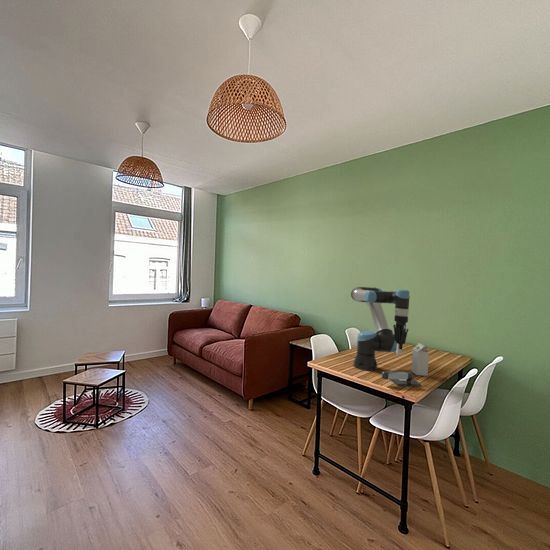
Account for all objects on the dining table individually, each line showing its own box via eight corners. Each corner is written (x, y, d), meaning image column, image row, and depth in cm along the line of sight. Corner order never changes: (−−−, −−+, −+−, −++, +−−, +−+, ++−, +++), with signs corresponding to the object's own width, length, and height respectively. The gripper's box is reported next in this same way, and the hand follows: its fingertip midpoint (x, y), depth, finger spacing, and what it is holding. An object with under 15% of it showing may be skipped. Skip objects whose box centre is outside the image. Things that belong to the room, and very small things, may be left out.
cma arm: (383, 379, 161) (384, 373, 161) (380, 376, 165) (380, 371, 165) (414, 379, 163) (414, 374, 163) (410, 377, 167) (410, 371, 167)
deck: (383, 375, 179) (384, 369, 179) (405, 375, 181) (405, 370, 181) (397, 386, 163) (398, 379, 163) (421, 386, 165) (421, 379, 165)
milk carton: (422, 372, 190) (424, 343, 189) (427, 376, 182) (429, 345, 182) (411, 371, 190) (413, 342, 189) (416, 375, 183) (418, 345, 182)
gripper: (390, 313, 182) (387, 351, 182) (401, 316, 169) (398, 357, 169) (401, 313, 183) (399, 351, 183) (413, 317, 170) (411, 357, 170)
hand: (399, 354), depth 176 cm, fingers closed
